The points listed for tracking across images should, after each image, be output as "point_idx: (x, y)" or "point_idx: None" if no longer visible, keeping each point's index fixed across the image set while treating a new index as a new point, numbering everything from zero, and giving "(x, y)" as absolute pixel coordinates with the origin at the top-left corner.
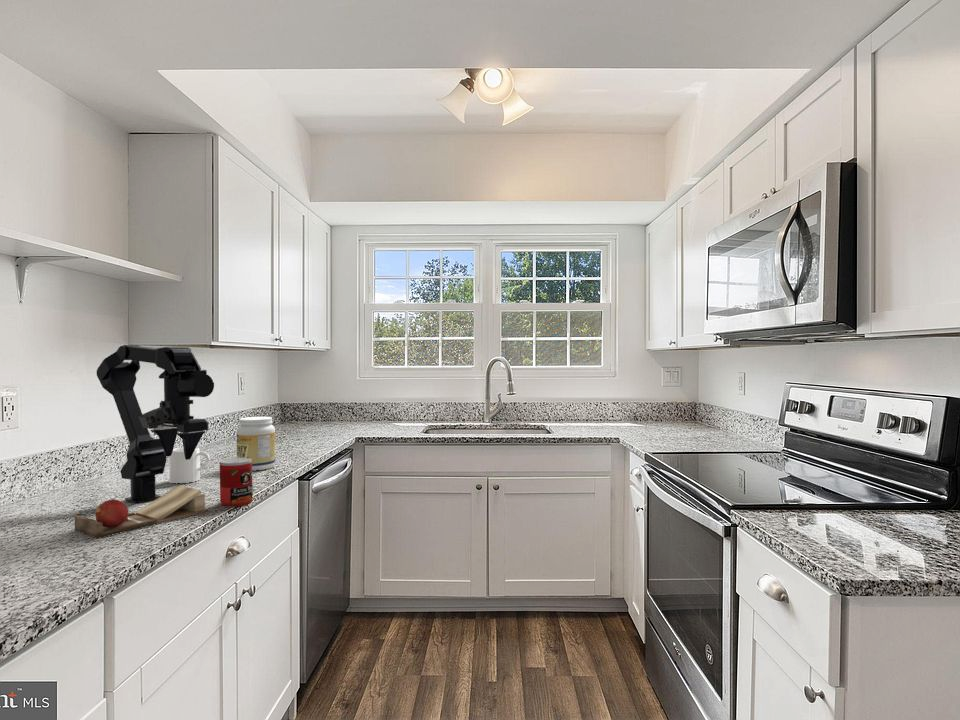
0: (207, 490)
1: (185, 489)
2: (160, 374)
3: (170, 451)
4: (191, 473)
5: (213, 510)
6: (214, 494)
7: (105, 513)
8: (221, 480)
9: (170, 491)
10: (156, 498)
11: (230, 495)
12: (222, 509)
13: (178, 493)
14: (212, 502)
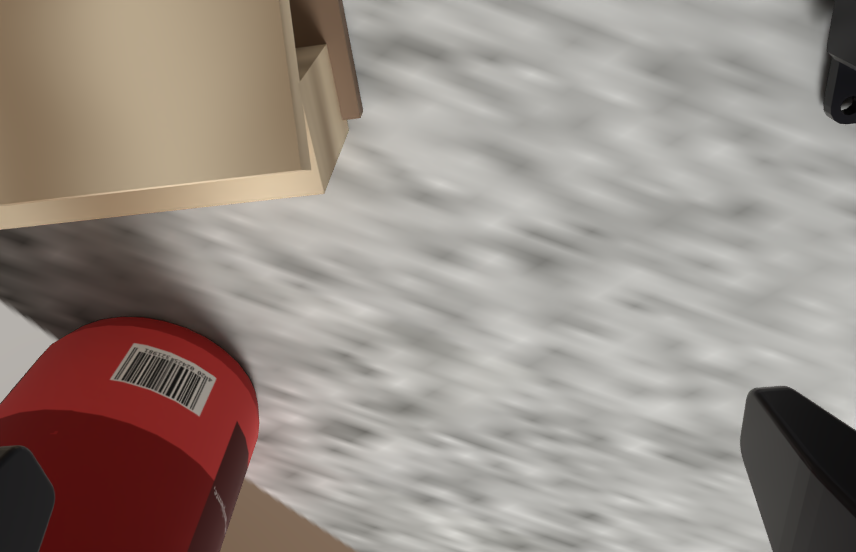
0: (714, 430)
1: (69, 155)
2: None
3: (778, 521)
4: None
5: (31, 226)
6: (541, 410)
7: None
8: None
9: (245, 45)
10: (832, 67)
11: (13, 389)
12: (24, 275)
13: (69, 69)
14: (299, 314)
